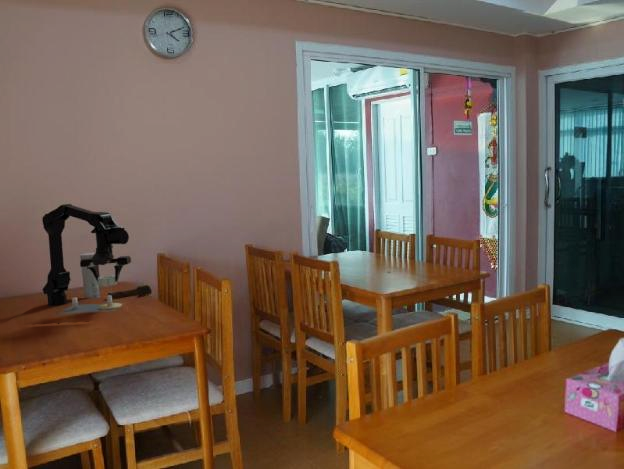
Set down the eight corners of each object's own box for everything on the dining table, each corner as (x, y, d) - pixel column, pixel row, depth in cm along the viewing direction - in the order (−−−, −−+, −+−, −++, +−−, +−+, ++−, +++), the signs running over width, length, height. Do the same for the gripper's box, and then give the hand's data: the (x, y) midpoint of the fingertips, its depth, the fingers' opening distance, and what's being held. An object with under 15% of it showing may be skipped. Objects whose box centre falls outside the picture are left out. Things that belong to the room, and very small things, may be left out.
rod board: (58, 316, 223) (57, 301, 222) (72, 307, 237) (71, 293, 236) (116, 313, 223) (114, 298, 223) (126, 304, 237) (125, 290, 237)
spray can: (96, 299, 251) (92, 254, 248) (82, 300, 251) (77, 255, 248) (102, 296, 257) (98, 252, 255) (87, 296, 257) (83, 253, 255)
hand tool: (110, 302, 244) (109, 292, 243) (107, 301, 247) (106, 290, 247) (153, 295, 254) (152, 285, 254) (150, 294, 258) (149, 284, 257)
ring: (96, 286, 226) (95, 279, 225) (102, 283, 232) (101, 275, 232) (113, 285, 226) (112, 278, 225) (118, 282, 232) (118, 275, 232)
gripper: (72, 248, 219) (76, 287, 221) (121, 245, 219) (124, 285, 221) (83, 244, 230) (87, 282, 232) (129, 241, 230) (133, 279, 232)
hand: (107, 282), depth 229 cm, fingers closed on ring, 7 cm apart
